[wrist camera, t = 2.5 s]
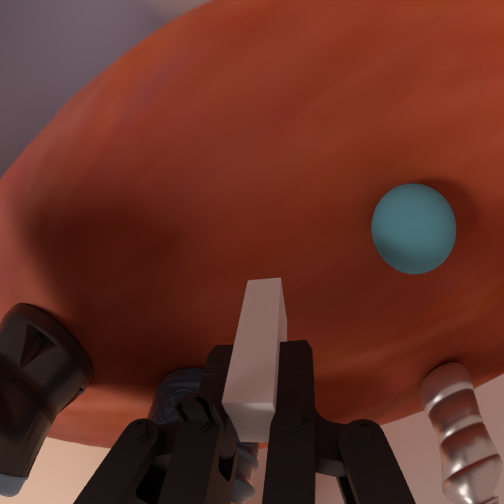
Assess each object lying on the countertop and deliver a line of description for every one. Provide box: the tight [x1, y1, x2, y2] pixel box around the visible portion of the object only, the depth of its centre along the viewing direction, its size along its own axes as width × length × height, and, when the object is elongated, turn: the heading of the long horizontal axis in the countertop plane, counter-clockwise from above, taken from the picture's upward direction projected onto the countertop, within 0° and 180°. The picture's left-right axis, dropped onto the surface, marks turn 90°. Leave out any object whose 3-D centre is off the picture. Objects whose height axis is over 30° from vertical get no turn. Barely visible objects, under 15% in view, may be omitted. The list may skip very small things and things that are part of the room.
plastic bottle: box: [420, 362, 502, 504], centre depth 20 cm, size 6×7×20 cm
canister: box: [147, 368, 259, 504], centre depth 26 cm, size 13×13×18 cm
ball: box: [371, 183, 456, 274], centre depth 18 cm, size 6×6×6 cm
